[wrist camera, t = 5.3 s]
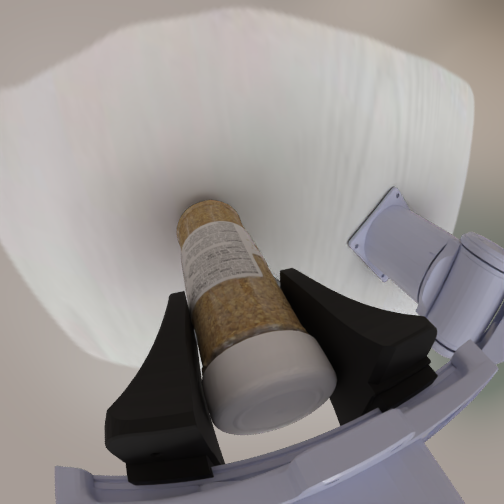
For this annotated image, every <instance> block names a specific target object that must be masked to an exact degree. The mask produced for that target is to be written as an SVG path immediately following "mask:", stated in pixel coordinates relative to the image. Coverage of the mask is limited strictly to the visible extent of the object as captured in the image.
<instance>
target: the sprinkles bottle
mask: <svg viewBox="0 0 504 504" xmlns="http://www.w3.org/2000/svg"><path fill="white" fill-rule="evenodd" d="M177 238H178V242H179V244H180V247H181V262H182V269H183V276H184V282H185V288H186V294H187V300H188V306H189V311H190V317H191V322H192V325H193V328H194V330H195V334H196V339H197V343H198V348H199V352H200V357H201V362H202V365H203V367H202V376H203V377H202V387H203V392H204V396H205V400H206V403H207V407H208V410H209V413H210V417H211V420H212V422H213V423H214V425H215V426H216V427H217V428H218V429H220V430H221V431H223V432H226V433H229V434H234V435H252V434H260V433H265V432H269V431H273V430H277V429H279V428H283V427H285V426H288V425H290V424H292V423H295V422H297V421H298V420H300V419H302V418H304V417H306V416H307V415H309V414H311V413H312V412H313V411H315V410H316V409H317V408H319V407H320V406H321V405H322V404H324V403H325V402H326V401H327V400H328V398H329V397H330V396H331V394H332V393H333V391H334V389H335V387H336V383H337V376H336V373H335V371H334V369H333V367H332V365H331V364H330V362H329V360H328V358H327V357H326V355H325V353H324V352H323V350H322V348H321V347H320V345H319V343H318V342H317V340H316V339H315V338H314V337H312V336H311V335H309V334H308V332H307V331H306V329H305V328H303V326H302V325H301V323H300V322H299V320H298V318H297V316H296V314H295V313H294V311H293V309H292V308H291V306H290V304H289V302H288V301H287V299H286V297H285V296H284V294H283V292H282V290H281V289H280V287H279V285H278V284H277V281H276V280H275V278H274V277H273V275H272V273H271V272H270V270H269V268H268V265H267V263H266V261H265V259H264V258H263V256H262V254H261V253H260V251H259V249H258V247H257V246H256V244H255V243H254V241H253V239H252V238H251V236H250V235H249V233H248V232H247V231H246V230H245V228H244V227H243V225H242V223H241V220H240V218H239V215H238V214H237V212H236V211H235V210H234V209H233V208H232V207H231V206H229V205H228V204H225V203H223V202H220V201H215V200H206V201H203V202H199V203H196V204H194V205H192V206H191V207H190V208H188V209H187V210H185V212H184V213H183V215H182V216H181V218H180V220H179V222H178V226H177Z"/></svg>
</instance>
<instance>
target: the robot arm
mask: <svg viewBox="0 0 504 504" xmlns="http://www.w3.org/2000/svg"><path fill="white" fill-rule="evenodd" d="M355 245H356V246H355ZM349 246H350V247H351V248H352V250H353V251H354V252H355V253H356V254H357V255H358V256H359V257H360V258H361V259H362V260H363V261H364V262H365V263H366V264H367V265H368V266H369V267H370V268H371V269H372V271H373V272H374V273H375V274H376V275H377V276H378V277H379V278H380V279H381V280H382V281H383V282H386V281H387V280H388V279H391V280H392V281H393V282H394V283H395V284H396V285H397V286H399V287H400V288H401V289H402V290H403V291H404V292H405V293H406V294H407V295H409V296H410V297H411V298H412V299H413V300H414V301H415V302H416V303H417V304H418V307H417V309H416V312H417V313H418V314H419V315H420V316H417V315H408V314H401V313H396V312H391V311H386V310H382V309H379V308H375V307H372V306H369V305H365V304H363V303H360V302H357V301H355V300H352V299H350V298H347V297H345V296H343V295H341V294H339V293H337V292H335V291H333V290H331V289H329V288H327V287H325V286H323V285H321V284H320V283H318V282H316V281H314V280H313V279H311V278H309V277H308V276H306V275H304V274H302V273H301V272H299V271H297V270H295V269H293V268H290V269H285V270H281V271H280V289H281V290H282V292H283V294H284V296H285V297H286V299H287V301H288V302H289V304H290V306H291V308H292V309H293V311H294V313H295V314H296V316H297V318H298V320H299V322H300V323H301V325H302V326H303V328H305V329H306V331H307V332H308V334H309V335H311V336H312V337H314V338H315V339H316V340H317V342H318V343H319V345H320V347H321V348H322V350H323V352H324V353H325V355H326V357H327V358H328V360H329V362H330V364H331V365H332V367H333V369H334V371H335V373H336V376H337V383H336V387H335V389H334V391H333V393H332V394H331V396H330V397H329V398H330V400H331V403H332V405H333V407H334V410H335V413H336V415H337V417H338V421H339V423H340V427H338V428H335V429H333V430H331V431H328V432H326V433H323V434H321V435H319V436H316V437H314V438H311V439H308V440H306V441H303V442H301V443H298V444H295V445H292V446H289V447H286V448H283V449H280V450H277V451H274V452H270V453H267V454H264V455H260V456H257V457H253V458H249V459H245V460H241V461H237V462H233V463H228V464H225V462H224V459H223V456H222V453H221V450H220V447H219V444H218V441H217V438H216V435H215V431H214V428H213V424H212V421H211V417H210V414H209V410H208V407H207V403H206V400H205V396H204V392H203V387H202V379H201V371H200V363H199V355H198V347H197V341H196V336H195V332H194V328H193V325H192V322H191V317H190V312H189V308H188V304H187V300H186V296H185V292H184V291H183V292H178V293H173V294H171V295H170V296H169V300H168V304H167V308H166V312H165V315H164V318H163V321H162V324H161V327H160V330H159V332H158V334H157V337H156V339H155V342H154V344H153V346H152V348H151V350H150V352H149V354H148V356H147V358H146V360H145V361H144V363H143V365H142V366H141V368H140V370H139V371H138V373H137V374H136V376H135V377H134V379H133V380H132V381H131V383H130V384H129V385H128V387H127V388H126V390H125V391H124V392H123V393H122V394H121V396H120V397H119V398H118V399H117V400H116V401H115V402H114V403H113V405H112V406H111V407H110V408H109V409H108V410H107V413H106V420H105V446H106V448H107V449H108V450H109V451H110V452H111V453H112V454H113V455H115V456H116V457H118V458H119V459H121V460H122V461H123V462H125V463H126V469H127V476H102V475H92V474H91V473H89V472H88V471H86V470H83V469H80V468H72V467H63V466H55V497H56V504H465V502H464V501H463V500H462V498H461V496H460V495H459V493H458V492H457V490H456V489H455V488H454V486H453V485H452V483H451V481H450V480H449V478H448V477H447V476H446V474H445V473H444V471H443V470H442V468H441V467H440V465H439V464H438V462H437V461H436V460H435V458H434V457H433V455H432V454H431V452H430V451H429V449H428V448H427V447H426V445H425V444H424V442H426V441H427V440H428V439H429V438H431V437H432V436H433V435H434V434H436V433H437V432H438V431H439V430H441V429H442V428H443V427H444V426H445V425H446V424H448V423H449V422H450V421H451V420H452V419H453V418H454V417H455V416H456V415H458V414H459V413H460V412H461V411H462V410H463V409H464V408H465V407H466V406H467V405H468V404H469V403H470V402H471V401H472V400H473V399H474V398H475V397H476V396H477V395H478V394H479V393H480V392H481V390H482V389H483V388H484V387H485V386H486V384H487V383H488V382H489V381H490V380H491V378H492V377H493V376H494V375H495V373H496V372H497V371H498V367H497V366H496V365H495V364H498V363H501V362H504V302H503V304H502V306H501V308H500V309H499V311H498V313H497V315H496V316H495V318H494V320H493V321H492V323H491V325H490V326H489V328H488V329H487V330H486V328H487V327H488V325H489V324H490V322H491V320H492V319H493V317H494V315H495V313H496V312H497V310H498V308H499V306H500V305H501V303H502V301H503V299H504V249H503V248H502V247H500V246H499V245H497V244H496V243H494V242H492V241H491V240H489V239H487V238H485V237H483V236H481V235H479V234H477V233H474V232H468V233H466V234H462V236H461V239H458V238H456V237H455V236H453V235H452V234H450V233H448V232H447V231H445V230H443V229H442V228H440V227H438V226H437V225H435V224H433V223H432V222H430V221H428V220H426V219H425V218H423V217H421V216H419V215H418V214H416V213H414V212H412V211H411V210H410V209H409V207H408V205H407V203H406V202H405V200H404V198H403V196H402V195H401V193H400V191H399V190H398V188H396V187H393V188H392V189H391V190H390V191H389V193H388V194H387V195H386V197H385V198H384V199H383V200H382V202H381V203H380V204H379V205H378V207H377V208H376V209H375V210H374V212H373V213H372V214H371V215H370V217H369V218H368V219H367V220H366V221H365V223H364V224H363V225H362V226H361V228H360V229H359V230H358V231H357V232H356V233H355V235H354V236H353V237H352V238H351V239H350V241H349ZM485 330H486V332H485ZM484 332H485V333H484ZM431 348H432V349H434V350H435V351H436V352H437V353H439V354H440V355H442V356H444V357H446V358H449V359H450V361H449V362H448V363H446V364H445V365H444V366H442V367H441V368H440V369H438V370H437V371H436V372H434V370H433V369H432V368H431V367H430V366H429V364H430V363H431V361H430V359H429V358H428V357H427V354H428V353H429V351H430V349H431Z"/></svg>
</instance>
